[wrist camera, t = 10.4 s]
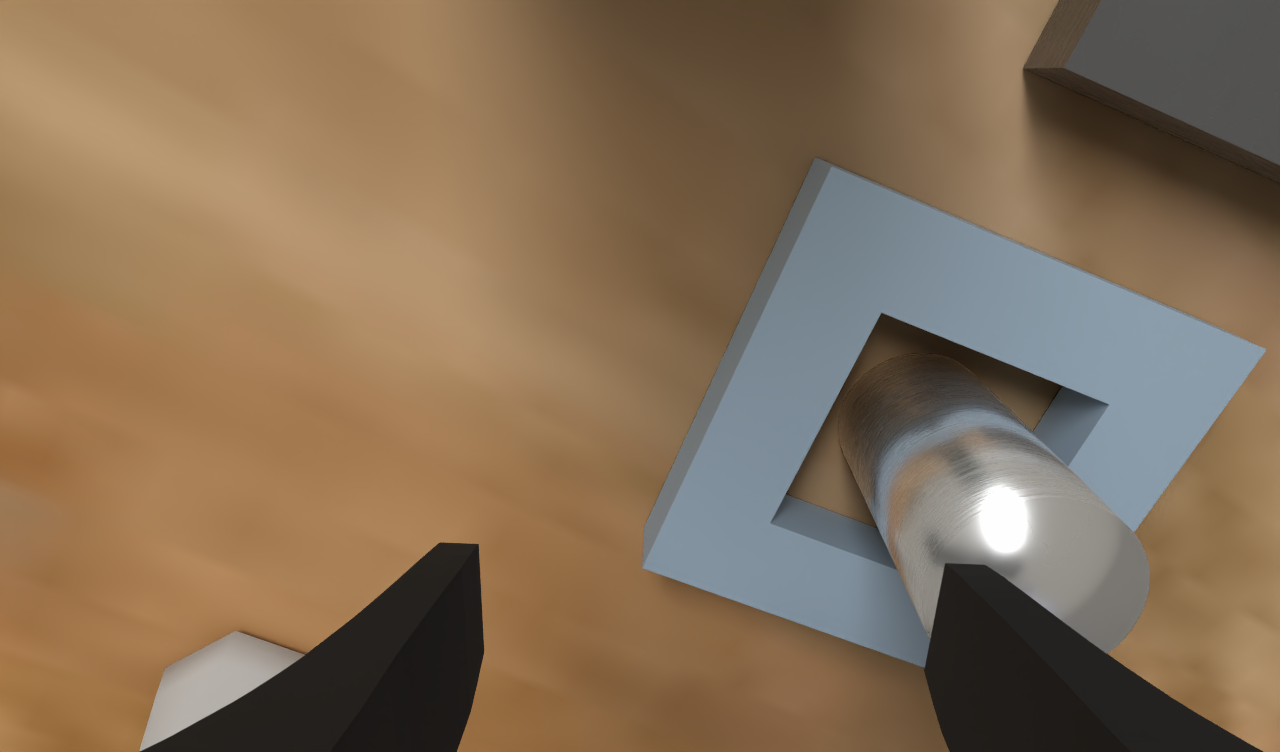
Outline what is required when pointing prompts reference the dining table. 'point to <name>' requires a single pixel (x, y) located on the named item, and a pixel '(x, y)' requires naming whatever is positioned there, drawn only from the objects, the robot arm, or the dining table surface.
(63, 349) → the dining table surface
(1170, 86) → the socket block
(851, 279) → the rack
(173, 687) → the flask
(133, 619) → the dining table surface
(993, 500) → the steel peg
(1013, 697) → the robot arm
